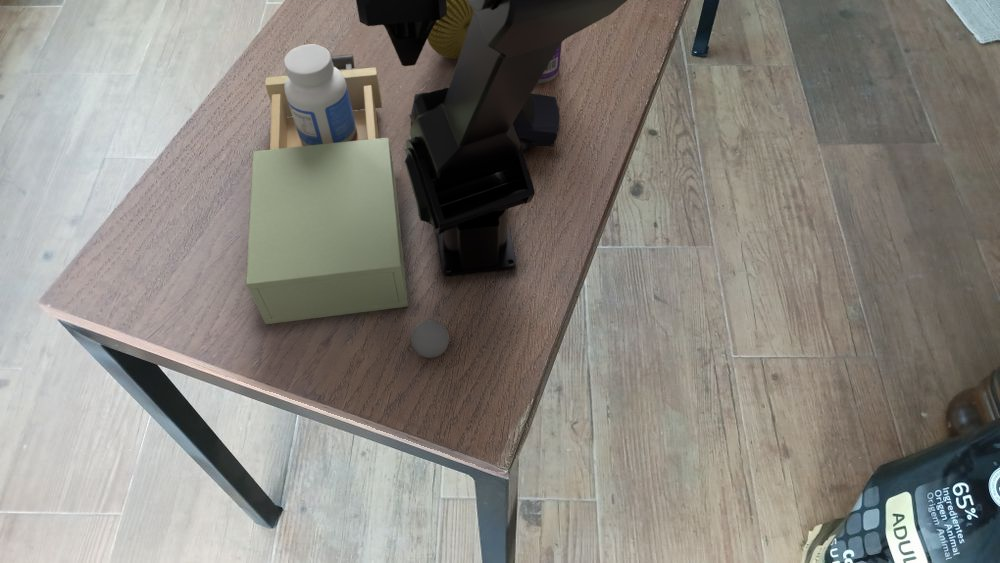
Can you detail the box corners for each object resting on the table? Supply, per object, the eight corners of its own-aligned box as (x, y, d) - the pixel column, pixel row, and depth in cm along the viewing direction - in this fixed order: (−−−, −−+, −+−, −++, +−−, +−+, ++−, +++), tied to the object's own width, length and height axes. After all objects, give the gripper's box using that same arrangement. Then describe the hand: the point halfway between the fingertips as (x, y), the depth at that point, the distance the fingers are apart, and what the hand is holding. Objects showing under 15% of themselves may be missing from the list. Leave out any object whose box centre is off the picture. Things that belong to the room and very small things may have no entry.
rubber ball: (451, 361, 59) (449, 343, 56) (414, 366, 58) (411, 348, 56) (447, 330, 60) (445, 310, 58) (411, 334, 60) (408, 315, 57)
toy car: (416, 112, 75) (411, 74, 71) (557, 115, 75) (560, 76, 71) (411, 153, 72) (406, 115, 68) (559, 155, 72) (563, 117, 68)
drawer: (277, 83, 76) (266, 49, 73) (378, 73, 77) (373, 40, 74) (273, 209, 66) (261, 178, 63) (390, 196, 67) (384, 165, 64)
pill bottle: (354, 117, 72) (336, 34, 64) (362, 155, 69) (345, 73, 61) (298, 127, 71) (273, 43, 63) (304, 166, 68) (279, 83, 60)
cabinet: (269, 195, 68) (252, 150, 64) (395, 181, 70) (388, 136, 65) (265, 324, 60) (245, 284, 56) (408, 306, 62) (400, 266, 57)
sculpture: (478, 29, 83) (476, -35, 76) (499, 47, 81) (500, -18, 75) (420, 57, 80) (414, -8, 73) (442, 76, 78) (437, 11, 72)
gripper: (264, -218, 54) (308, -26, 67) (255, -84, 43) (309, 113, 56) (414, -227, 55) (429, -35, 68) (441, -98, 44) (452, 99, 57)
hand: (404, 29), depth 62 cm, fingers open, 9 cm apart
